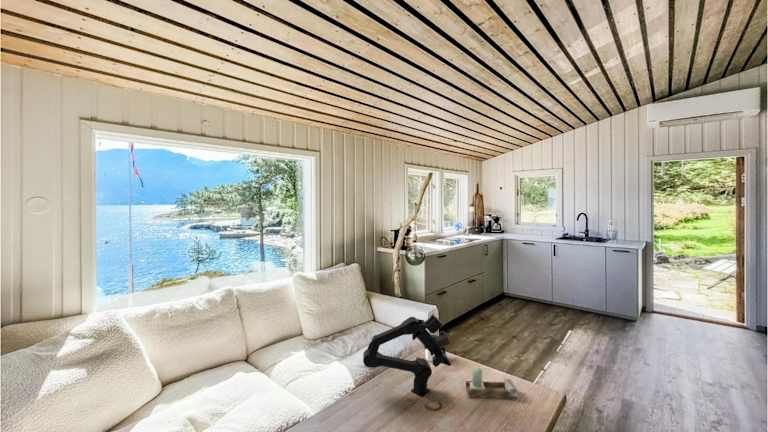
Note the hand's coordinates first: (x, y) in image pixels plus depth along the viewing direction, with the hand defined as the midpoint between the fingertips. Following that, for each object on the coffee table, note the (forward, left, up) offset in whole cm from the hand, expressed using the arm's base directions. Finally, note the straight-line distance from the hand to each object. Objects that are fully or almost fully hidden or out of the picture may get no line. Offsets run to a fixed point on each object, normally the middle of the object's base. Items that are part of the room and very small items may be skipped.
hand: (450, 365), depth 148 cm
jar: (+22, +26, -13) cm, 36 cm away
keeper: (+8, -9, -11) cm, 16 cm away
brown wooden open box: (+12, -14, -13) cm, 22 cm away
